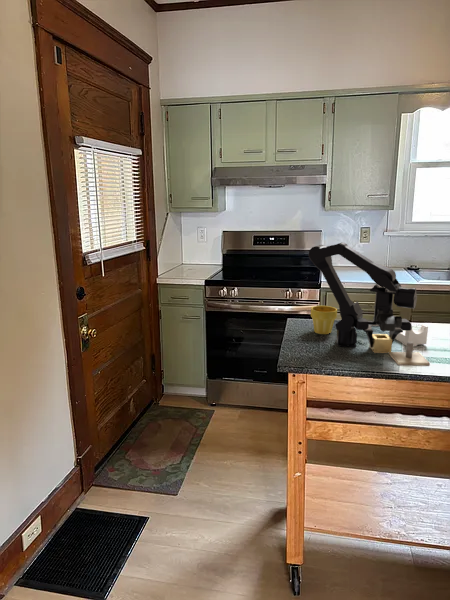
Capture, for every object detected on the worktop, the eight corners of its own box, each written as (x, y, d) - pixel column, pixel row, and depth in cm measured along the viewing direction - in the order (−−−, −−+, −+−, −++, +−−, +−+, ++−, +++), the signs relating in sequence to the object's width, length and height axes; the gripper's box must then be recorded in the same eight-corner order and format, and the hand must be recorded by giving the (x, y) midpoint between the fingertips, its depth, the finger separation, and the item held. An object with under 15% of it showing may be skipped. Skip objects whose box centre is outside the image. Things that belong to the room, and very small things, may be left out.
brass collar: (373, 352, 158) (374, 339, 157) (369, 347, 164) (370, 334, 162) (391, 353, 157) (392, 339, 156) (386, 347, 163) (387, 334, 162)
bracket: (426, 346, 165) (428, 326, 163) (407, 347, 164) (409, 327, 162) (407, 335, 178) (409, 317, 176) (390, 336, 177) (392, 317, 175)
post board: (398, 364, 147) (399, 347, 145) (389, 354, 156) (390, 338, 155) (429, 365, 146) (431, 348, 145) (418, 354, 156) (420, 338, 154)
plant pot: (338, 335, 177) (340, 311, 174) (312, 335, 177) (313, 311, 175) (332, 328, 187) (334, 305, 185) (308, 328, 187) (308, 305, 185)
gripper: (361, 310, 149) (358, 354, 153) (419, 311, 148) (414, 355, 152) (354, 302, 160) (351, 344, 164) (407, 303, 159) (404, 344, 163)
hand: (380, 347), depth 160 cm, fingers closed on brass collar, 6 cm apart
